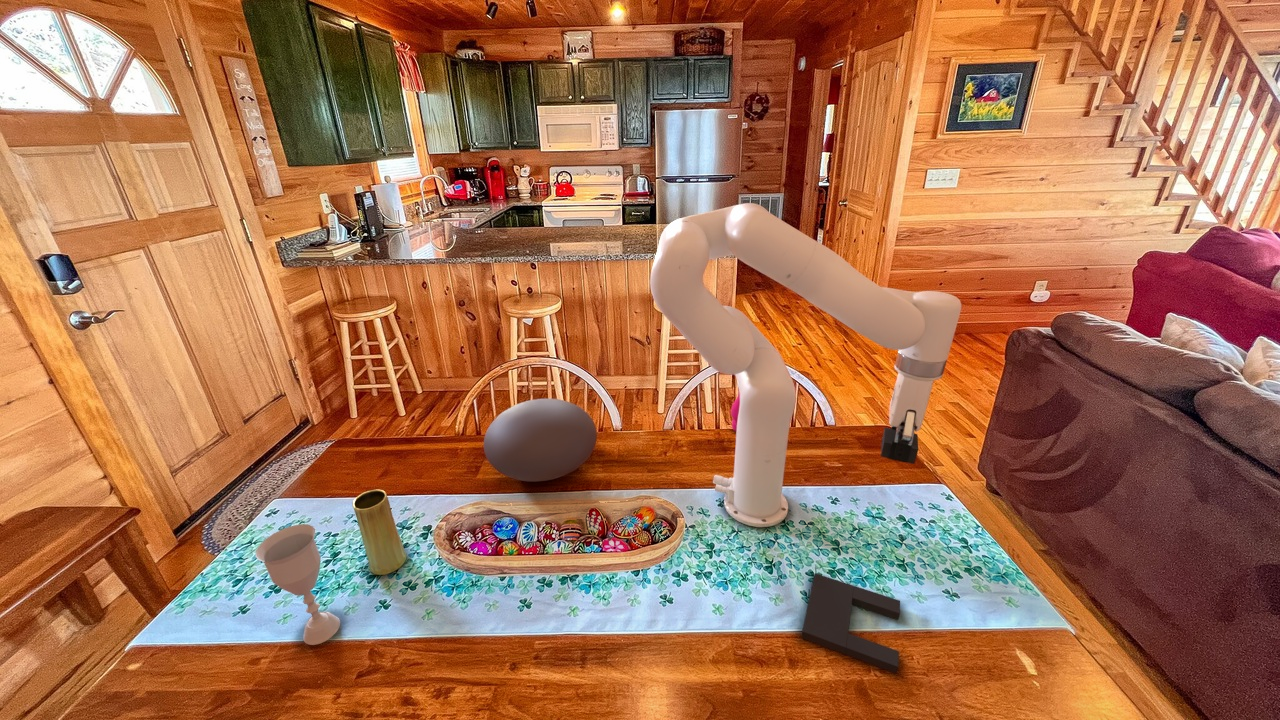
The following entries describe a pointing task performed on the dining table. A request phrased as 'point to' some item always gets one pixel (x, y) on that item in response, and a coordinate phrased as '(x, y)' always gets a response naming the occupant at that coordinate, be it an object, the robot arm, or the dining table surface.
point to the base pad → (847, 621)
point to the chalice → (298, 575)
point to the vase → (379, 532)
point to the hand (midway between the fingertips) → (897, 450)
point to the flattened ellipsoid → (540, 440)
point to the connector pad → (887, 442)
